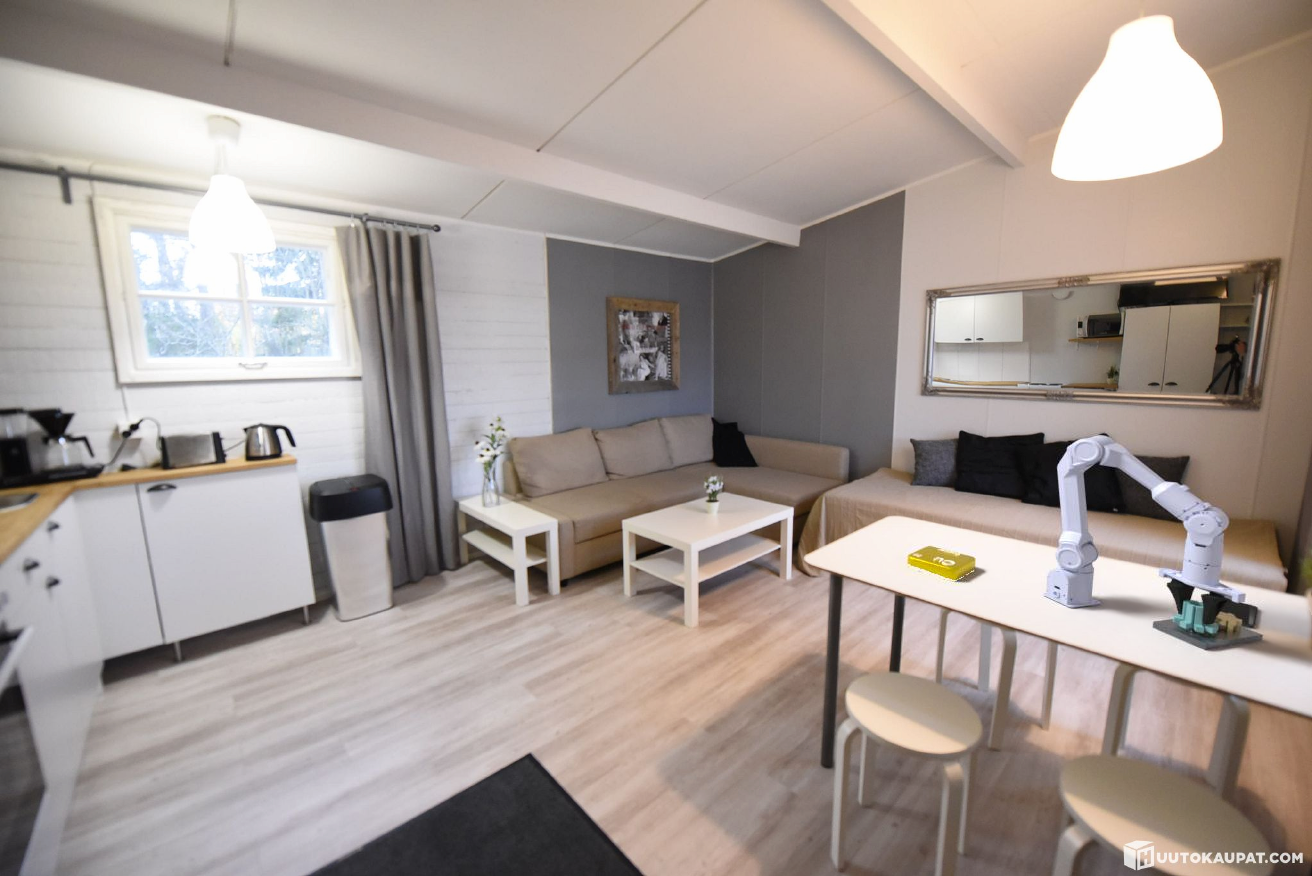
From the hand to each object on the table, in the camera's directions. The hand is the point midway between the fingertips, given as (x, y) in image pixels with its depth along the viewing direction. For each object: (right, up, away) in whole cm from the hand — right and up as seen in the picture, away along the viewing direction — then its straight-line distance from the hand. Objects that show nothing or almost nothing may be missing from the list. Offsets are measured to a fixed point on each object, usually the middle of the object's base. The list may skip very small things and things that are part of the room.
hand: (1195, 618), depth 114 cm
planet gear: (0, -2, 0) cm, 2 cm away
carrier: (+4, -4, +1) cm, 5 cm away
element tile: (-34, 0, +43) cm, 55 cm away
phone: (+20, -3, +10) cm, 22 cm away
